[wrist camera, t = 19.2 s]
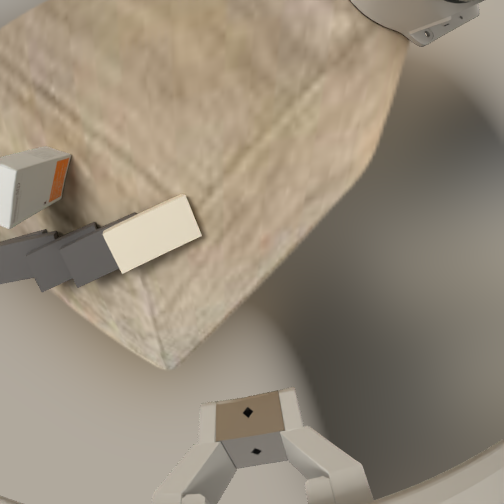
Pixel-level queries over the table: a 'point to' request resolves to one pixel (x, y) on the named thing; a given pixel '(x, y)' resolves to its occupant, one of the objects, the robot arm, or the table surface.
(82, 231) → the domino
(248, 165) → the table surface
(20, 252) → the domino
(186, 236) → the domino
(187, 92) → the table surface
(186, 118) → the table surface
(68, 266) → the domino
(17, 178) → the skincare box
